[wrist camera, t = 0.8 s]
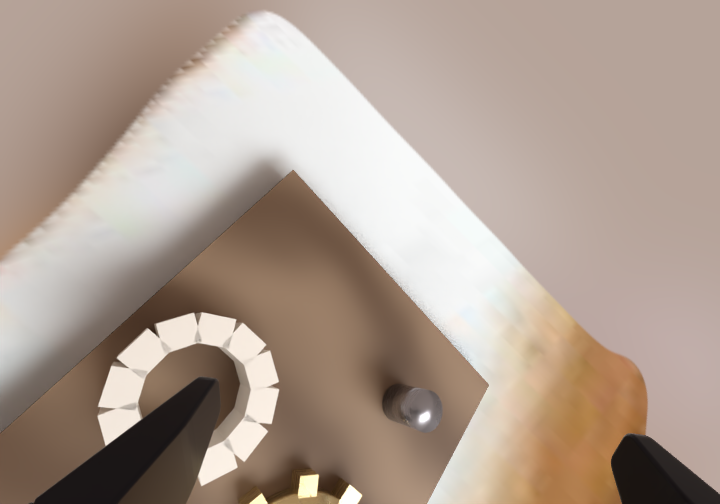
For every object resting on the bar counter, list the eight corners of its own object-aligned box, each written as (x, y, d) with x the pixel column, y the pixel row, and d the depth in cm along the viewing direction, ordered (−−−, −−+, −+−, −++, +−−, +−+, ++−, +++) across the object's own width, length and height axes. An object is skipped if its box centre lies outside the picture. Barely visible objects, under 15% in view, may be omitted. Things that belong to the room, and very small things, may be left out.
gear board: (269, 750, 18) (279, 783, 17) (-106, 529, 14) (-131, 551, 12) (472, 382, 27) (488, 384, 26) (284, 178, 23) (293, 169, 21)
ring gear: (190, 502, 17) (196, 523, 15) (62, 406, 15) (53, 417, 13) (291, 376, 20) (306, 381, 18) (192, 285, 18) (198, 281, 16)
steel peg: (399, 429, 22) (429, 441, 20) (375, 406, 22) (403, 415, 19) (418, 398, 23) (448, 406, 21) (395, 376, 22) (424, 381, 20)
